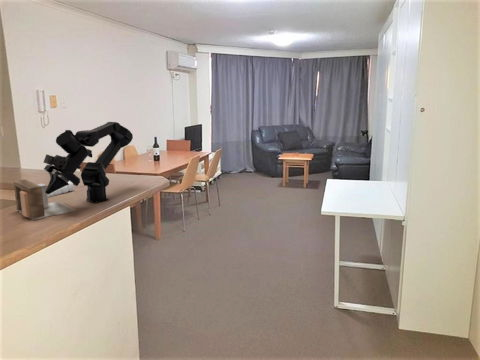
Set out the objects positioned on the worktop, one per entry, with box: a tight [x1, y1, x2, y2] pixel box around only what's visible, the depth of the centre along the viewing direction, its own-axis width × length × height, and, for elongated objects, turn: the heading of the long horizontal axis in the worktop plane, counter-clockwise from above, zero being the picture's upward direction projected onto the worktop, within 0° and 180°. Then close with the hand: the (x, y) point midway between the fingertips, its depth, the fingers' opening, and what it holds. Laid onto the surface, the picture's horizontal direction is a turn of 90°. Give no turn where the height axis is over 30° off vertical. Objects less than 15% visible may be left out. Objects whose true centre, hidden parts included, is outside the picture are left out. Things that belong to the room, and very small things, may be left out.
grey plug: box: [36, 183, 49, 208], centre depth 143 cm, size 6×4×8 cm, turn 138°
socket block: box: [13, 179, 76, 221], centre depth 142 cm, size 15×15×11 cm
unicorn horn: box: [47, 181, 75, 198], centre depth 162 cm, size 5×24×5 cm, turn 151°
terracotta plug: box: [20, 191, 45, 218], centre depth 135 cm, size 6×4×8 cm, turn 138°
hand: (46, 193), depth 139 cm, fingers closed
